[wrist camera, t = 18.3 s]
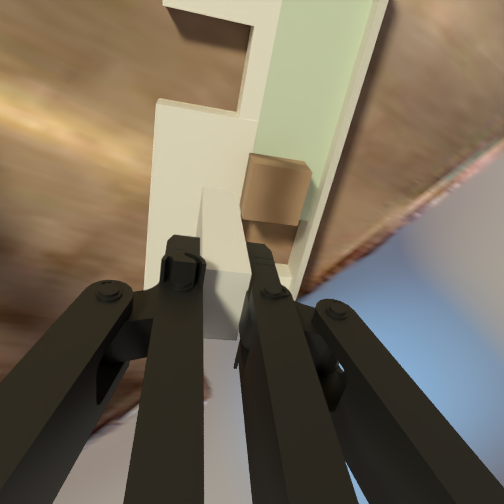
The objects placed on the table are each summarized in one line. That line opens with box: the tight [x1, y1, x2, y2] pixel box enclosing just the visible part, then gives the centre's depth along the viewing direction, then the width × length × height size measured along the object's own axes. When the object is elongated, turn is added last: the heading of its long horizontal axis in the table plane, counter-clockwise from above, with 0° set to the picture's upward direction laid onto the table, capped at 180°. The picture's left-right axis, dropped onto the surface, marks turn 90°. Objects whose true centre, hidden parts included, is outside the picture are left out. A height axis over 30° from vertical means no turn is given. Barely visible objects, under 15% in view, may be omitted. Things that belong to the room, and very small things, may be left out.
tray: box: [144, 0, 389, 301], centre depth 41 cm, size 19×41×4 cm, turn 169°
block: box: [239, 153, 313, 226], centre depth 41 cm, size 6×6×4 cm
